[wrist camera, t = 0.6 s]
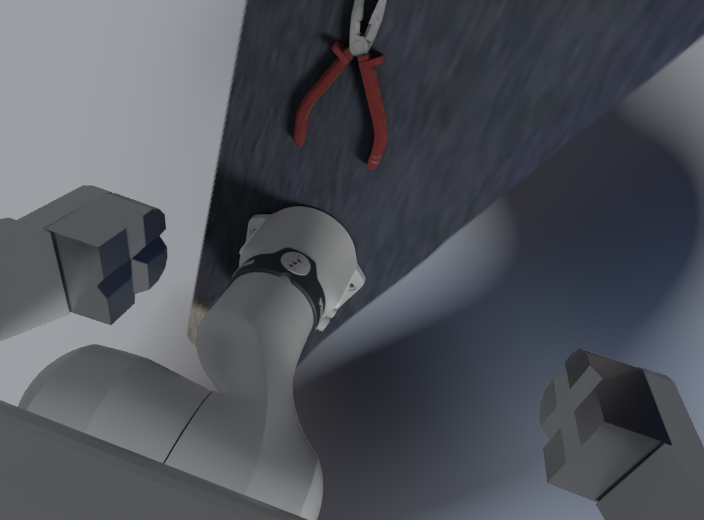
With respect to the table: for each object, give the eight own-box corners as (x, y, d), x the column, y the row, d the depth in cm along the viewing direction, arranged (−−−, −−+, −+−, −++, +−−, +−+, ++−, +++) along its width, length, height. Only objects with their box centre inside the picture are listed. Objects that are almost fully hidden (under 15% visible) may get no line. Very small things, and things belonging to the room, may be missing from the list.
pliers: (434, -15, 44) (432, -14, 42) (379, 168, 56) (375, 175, 53) (327, -47, 45) (319, -49, 43) (295, 139, 56) (287, 145, 54)
